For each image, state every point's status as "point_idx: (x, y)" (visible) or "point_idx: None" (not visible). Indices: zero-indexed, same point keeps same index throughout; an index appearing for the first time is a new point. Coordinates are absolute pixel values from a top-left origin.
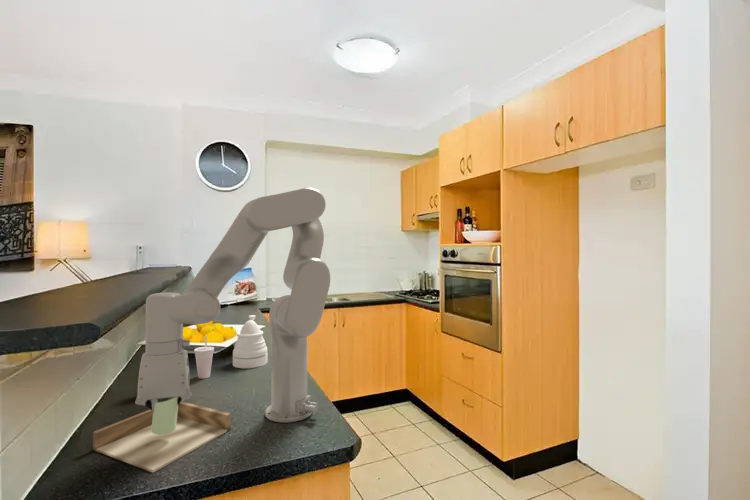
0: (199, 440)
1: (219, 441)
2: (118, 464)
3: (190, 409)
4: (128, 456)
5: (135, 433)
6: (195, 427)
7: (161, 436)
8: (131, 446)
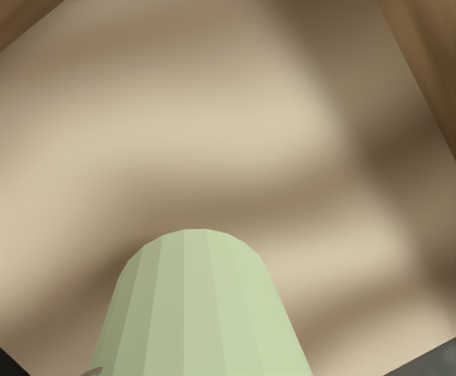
0: (367, 350)
1: (445, 369)
2: (11, 370)
3: (437, 9)
4: (40, 353)
5: (20, 68)
6: (387, 180)
7: (187, 208)
8: (32, 253)
